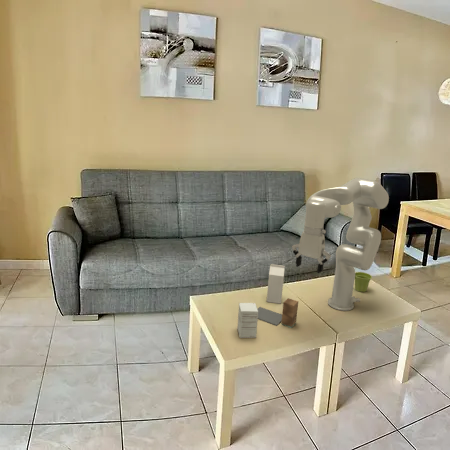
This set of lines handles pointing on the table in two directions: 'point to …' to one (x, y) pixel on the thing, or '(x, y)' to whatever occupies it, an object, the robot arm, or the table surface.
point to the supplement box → (247, 320)
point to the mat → (269, 316)
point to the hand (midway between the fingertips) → (308, 268)
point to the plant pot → (362, 281)
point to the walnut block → (289, 312)
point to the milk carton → (275, 283)
